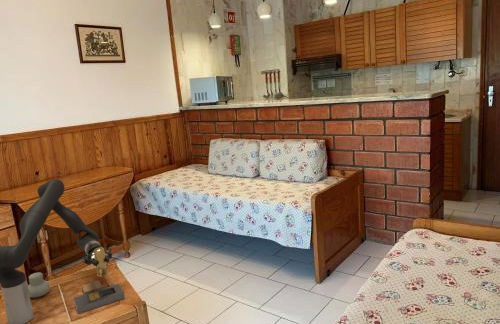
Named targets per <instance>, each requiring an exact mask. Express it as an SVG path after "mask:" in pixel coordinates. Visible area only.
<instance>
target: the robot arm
mask: <svg viewBox="0 0 500 324" xmlns="http://www.w3.org/2000/svg"><path fill="white" fill-rule="evenodd" d="M64 192H65V185H64V182H63V181H62V180H60V179H57V178H53V179H50V180H47V181H46V182H44V183H43V184H41V185H39V186H38V188H37V194H38V196H39V199H38V200H36V202H34V203H33V204H32V205H31V206H30V207H29V208H28V209H27V210H26V211H25V212H24V214H23V216H22V218H21V219H20V220H19V221H20V222H19V231H20V239H19V240H18V242H17V243H16V244H15V245H2V246H0V287H1V293H2V298H3V302H4V309H5V313H6V314H5V315H6V318H7V323H8V324H27V323H29V322H30V321H31V320H33V319H34V316H35V315H34V310H33V306H32V300H31V297H30V295H29V290H28V282H27V277H26V273H24V272H23V271H22V270H19V268H21V267H22V266H23V265H24V263H25V262H26V260H27V258H28V255H29V254H30V251H31V249H32V247H33V244H34V243H35V240H36V238H37V237H38V235H39V233H40V231H41V230H42V229H43V226H44V224H45V223H46V221H47V219H48V218H49V216H50V214H51V212H52V211H53V212H54V213H55V214H57V216H58V217H59V218H60V219H61V220H62V221H63V222H64V223H65V224H66V226H67V227H68V229H69V230H70V231H71V232H72V234H74V235H78V234H80V233H83V232H84V233H85V234H82V236H80V237H79V238H78V239H77V240H76V245H77V247H78V248H79V249H80V250H82V251H83V252H85V254H86V256H81V260H82V263H83V264H85V265H87V266H90V265H92V266H94V267H96V266H97V262H96V260H95V256H94V249H96V248H99V247H103V246H102V245H101V243H100V242H99V241H100V237H99V234H97V232H95V231H94V230H93V229H91V228H90V227H89V226H87V224H86V223H85V222H84V221H83V220H82V219H83V218H81V217H80V215H79V214H78V213H76V212H75V211H74V210H73V209H71V208H69V207H67V206H65V205H64V204H62V203H61V202H60V198H61V197H62V196H63V194H64ZM104 252H105V258H106V264H109V262H110V259H112V258H113V249H112V248H109V249H108V250H105V249H104Z"/></svg>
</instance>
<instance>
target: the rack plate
mask: <svg viewBox="0 0 500 324" xmlns="http://www.w3.org/2000/svg"><path fill="white" fill-rule="evenodd" d="M125 298H126V295H125V291H124V290H123V288H122V286H121V285H120V283H116V284H114V285H113V284H112V285H109V286H107V287H104V288H103V287H102V289H100V290H97V291H94V292H90V293H87V294H84V293H83V294H81V295H77V296H74V297H73V302H74V305H75V308H76V312H77V314H78V315H80V314H83V313H86V312H88V311H91V310H95V309H97V308H99V307H103V306H106V305H109V304H111V303H115V302H117V301H121V300H124V299H125Z"/></svg>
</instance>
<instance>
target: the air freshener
mask: <svg viewBox="0 0 500 324" xmlns="http://www.w3.org/2000/svg"><path fill="white" fill-rule="evenodd" d="M28 281H29V284H27V286H28V290H29V295H30V298H40V297H42V296H45V295H46V294H47V293H48V292H49V291H50V290H51V287H50V283H49V281H47V280H45V279H44V275H43V273H42V272H39V271H38V272H34V273H31V274H30V275H29V276H28Z"/></svg>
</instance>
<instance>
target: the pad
mask: <svg viewBox="0 0 500 324" xmlns="http://www.w3.org/2000/svg"><path fill="white" fill-rule="evenodd" d="M100 289H103V286H102V284H101V282H100V280H96V281H92V282H90V283H89V282H88V283H85V284H83V285H81V291H82V293H83V295H84V294H87V293H90V292H94V291H97V290H100Z"/></svg>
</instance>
